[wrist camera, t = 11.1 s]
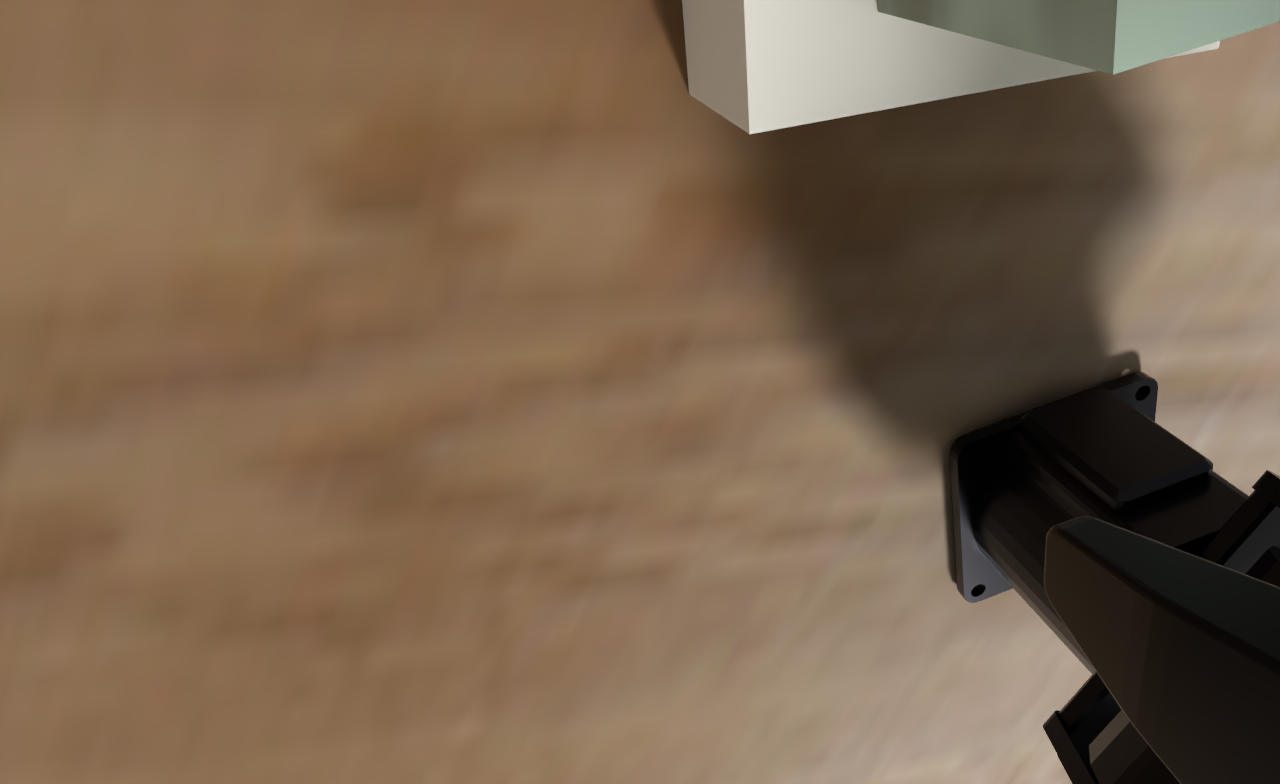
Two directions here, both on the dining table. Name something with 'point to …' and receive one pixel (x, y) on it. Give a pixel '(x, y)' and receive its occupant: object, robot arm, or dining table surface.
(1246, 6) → the green cube
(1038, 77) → the cream block
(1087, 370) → the dining table surface
